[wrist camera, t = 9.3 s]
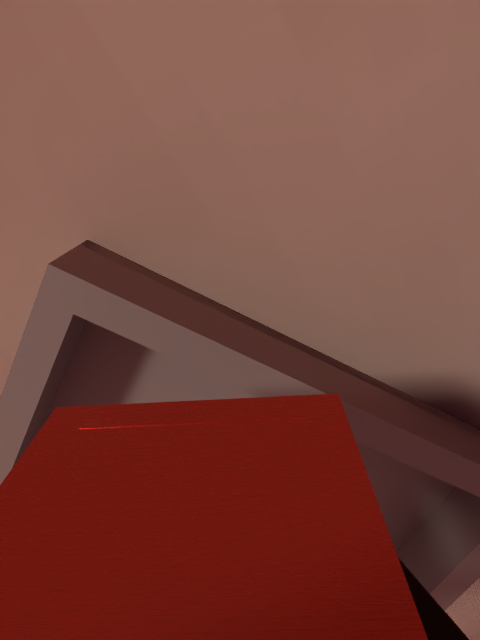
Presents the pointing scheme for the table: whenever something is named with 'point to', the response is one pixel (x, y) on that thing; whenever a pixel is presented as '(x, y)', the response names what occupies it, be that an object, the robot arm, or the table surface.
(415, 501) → the slate tray
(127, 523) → the red arch stool
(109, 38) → the table surface
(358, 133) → the table surface
